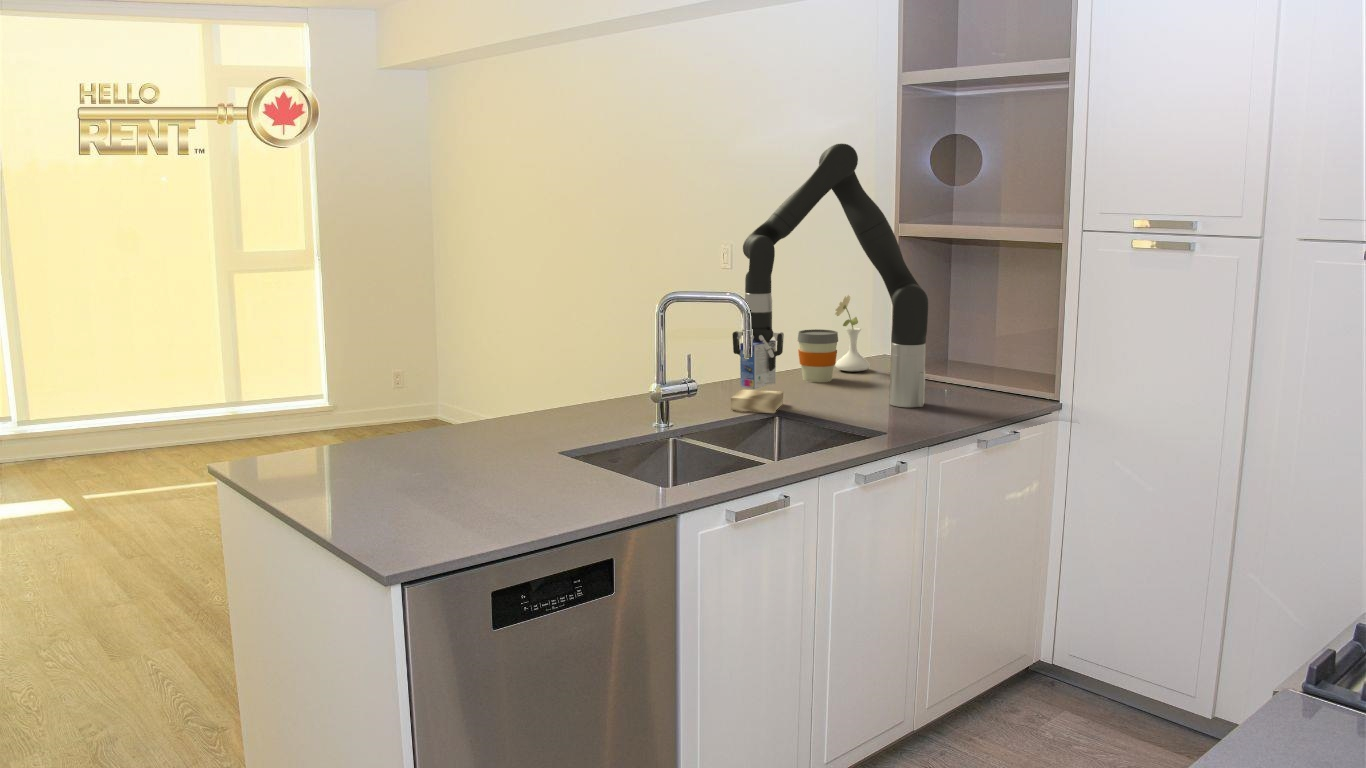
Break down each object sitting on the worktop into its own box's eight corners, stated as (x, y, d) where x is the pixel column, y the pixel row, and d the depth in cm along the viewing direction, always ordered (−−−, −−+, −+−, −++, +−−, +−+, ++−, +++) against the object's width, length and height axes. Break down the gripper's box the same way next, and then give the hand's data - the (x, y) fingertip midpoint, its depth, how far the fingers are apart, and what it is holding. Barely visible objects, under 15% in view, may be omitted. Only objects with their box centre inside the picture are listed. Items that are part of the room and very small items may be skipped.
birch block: (783, 405, 292) (783, 391, 292) (774, 414, 281) (774, 400, 280) (741, 403, 296) (741, 389, 295) (730, 412, 285) (730, 397, 284)
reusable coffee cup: (819, 385, 319) (820, 336, 317) (788, 379, 329) (789, 332, 326) (845, 379, 328) (846, 332, 325) (814, 374, 337) (815, 328, 334)
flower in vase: (851, 366, 351) (853, 291, 347) (877, 371, 342) (879, 294, 338) (824, 370, 343) (825, 294, 339) (850, 375, 334) (851, 297, 330)
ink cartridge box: (760, 381, 293) (761, 329, 290) (776, 384, 289) (778, 332, 286) (738, 386, 286) (739, 333, 283) (754, 389, 282) (756, 336, 279)
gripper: (787, 308, 285) (786, 368, 288) (735, 307, 289) (735, 366, 292) (781, 311, 278) (780, 373, 281) (728, 310, 282) (728, 371, 285)
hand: (757, 369), depth 287 cm, fingers closed on ink cartridge box, 7 cm apart
